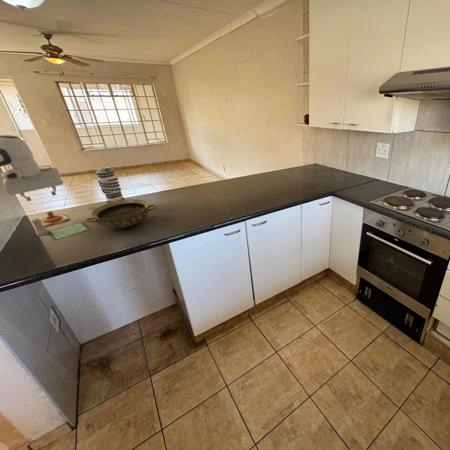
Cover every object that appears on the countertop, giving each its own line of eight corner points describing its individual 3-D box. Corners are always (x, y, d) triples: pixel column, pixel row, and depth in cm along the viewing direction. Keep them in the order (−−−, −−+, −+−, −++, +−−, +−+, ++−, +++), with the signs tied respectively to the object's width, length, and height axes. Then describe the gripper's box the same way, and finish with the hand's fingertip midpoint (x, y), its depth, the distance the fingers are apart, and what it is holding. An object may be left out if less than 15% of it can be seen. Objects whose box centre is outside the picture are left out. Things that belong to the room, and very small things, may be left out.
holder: (43, 228, 124) (38, 217, 122) (39, 222, 130) (34, 212, 127) (68, 221, 131) (64, 211, 129) (63, 216, 137) (59, 206, 134)
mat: (57, 240, 114) (56, 239, 113) (50, 232, 120) (50, 231, 120) (88, 230, 122) (88, 229, 122) (81, 223, 129) (80, 222, 128)
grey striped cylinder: (129, 206, 149) (115, 165, 137) (127, 211, 142) (112, 168, 130) (111, 208, 145) (95, 166, 134) (108, 214, 138) (91, 170, 126)
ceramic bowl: (91, 244, 110) (81, 225, 105) (91, 225, 127) (83, 207, 122) (164, 225, 126) (159, 208, 121) (155, 210, 143) (151, 194, 138)
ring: (46, 223, 126) (44, 221, 125) (43, 220, 129) (41, 217, 129) (63, 219, 130) (62, 216, 130) (59, 215, 134) (58, 213, 134)
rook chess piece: (46, 231, 121) (38, 216, 118) (51, 233, 120) (43, 218, 116) (35, 235, 118) (26, 220, 114) (39, 237, 116) (30, 222, 112)
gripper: (54, 165, 127) (66, 190, 133) (-4, 174, 113) (13, 202, 119) (57, 167, 123) (70, 193, 130) (-3, 177, 109) (15, 205, 116)
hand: (42, 197), depth 124 cm, fingers open, 8 cm apart
